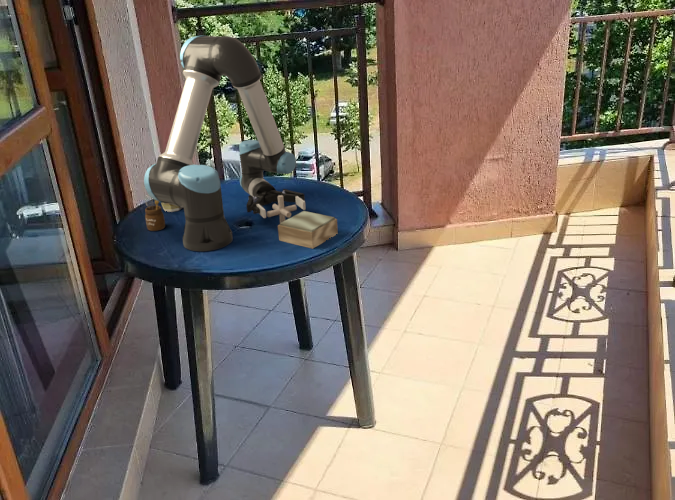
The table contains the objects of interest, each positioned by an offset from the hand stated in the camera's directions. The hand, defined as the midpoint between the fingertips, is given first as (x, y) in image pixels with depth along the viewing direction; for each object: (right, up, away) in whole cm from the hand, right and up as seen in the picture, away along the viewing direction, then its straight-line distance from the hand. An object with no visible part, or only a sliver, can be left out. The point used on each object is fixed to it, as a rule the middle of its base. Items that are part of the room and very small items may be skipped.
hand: (284, 209), depth 204 cm
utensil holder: (-43, -6, +7) cm, 44 cm away
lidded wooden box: (+8, -9, -6) cm, 13 cm away
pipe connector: (-1, -5, +4) cm, 6 cm away
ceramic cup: (-40, +2, +23) cm, 47 cm away
